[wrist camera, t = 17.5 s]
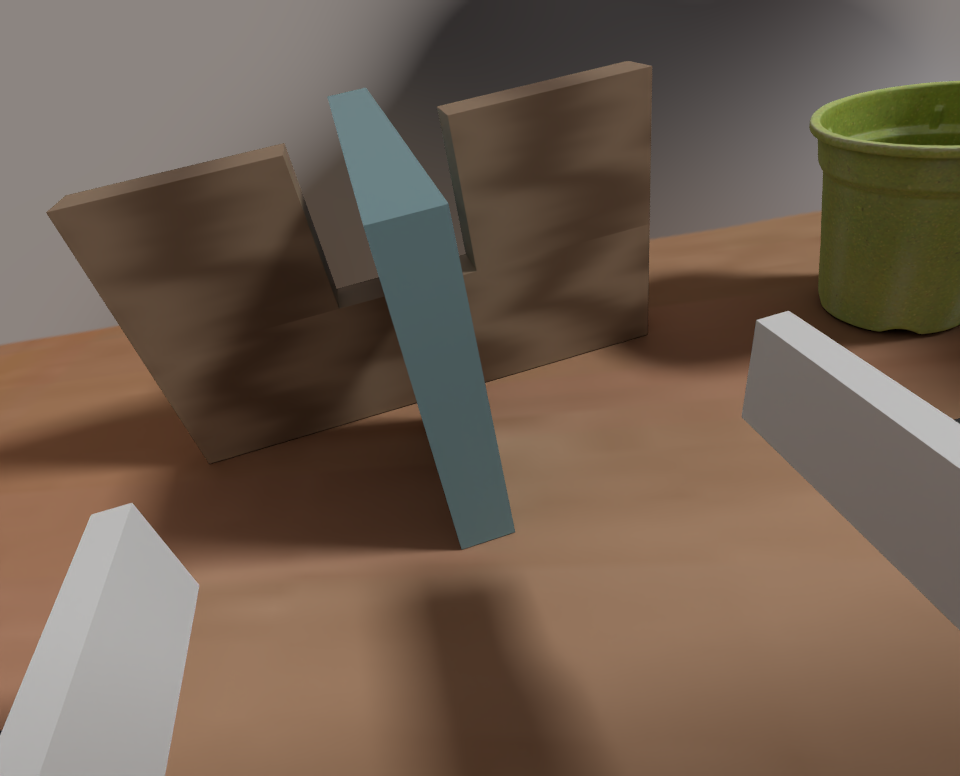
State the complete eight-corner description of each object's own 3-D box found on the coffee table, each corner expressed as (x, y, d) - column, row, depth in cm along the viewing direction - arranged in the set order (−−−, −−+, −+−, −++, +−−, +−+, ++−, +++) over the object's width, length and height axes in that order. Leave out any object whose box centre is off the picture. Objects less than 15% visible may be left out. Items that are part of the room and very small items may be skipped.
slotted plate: (419, 294, 36) (365, 87, 29) (514, 531, 20) (448, 203, 13) (389, 303, 36) (327, 96, 29) (461, 549, 20) (363, 225, 13)
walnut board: (629, 315, 30) (627, 60, 23) (647, 333, 28) (652, 65, 21) (214, 436, 28) (65, 195, 20) (209, 463, 26) (45, 212, 19)
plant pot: (737, 299, 30) (759, 123, 24) (868, 242, 32) (913, 71, 27) (916, 387, 22) (1001, 166, 17) (1068, 307, 25) (1183, 90, 20)
